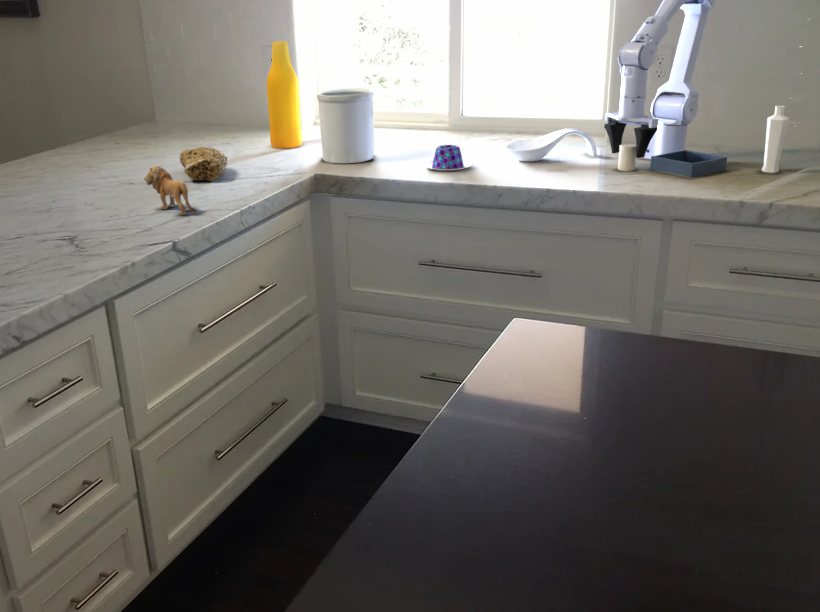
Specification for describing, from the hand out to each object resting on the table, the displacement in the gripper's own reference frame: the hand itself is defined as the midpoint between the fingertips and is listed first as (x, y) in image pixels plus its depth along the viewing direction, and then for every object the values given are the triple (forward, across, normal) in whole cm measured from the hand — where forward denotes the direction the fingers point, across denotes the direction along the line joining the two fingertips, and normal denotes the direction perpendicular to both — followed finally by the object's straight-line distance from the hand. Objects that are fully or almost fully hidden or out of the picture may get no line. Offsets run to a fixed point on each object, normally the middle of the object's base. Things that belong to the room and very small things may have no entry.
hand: (627, 155), depth 207 cm
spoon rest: (+4, -23, -4) cm, 23 cm away
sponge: (+3, -64, -83) cm, 105 cm away
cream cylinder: (+4, 0, 0) cm, 4 cm away
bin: (+4, +10, +10) cm, 14 cm away
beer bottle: (+4, -86, -48) cm, 99 cm away
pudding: (+4, -30, -31) cm, 44 cm away
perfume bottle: (+4, +23, +23) cm, 32 cm away
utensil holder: (+4, -57, -44) cm, 73 cm away
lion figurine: (+3, -33, -103) cm, 108 cm away
